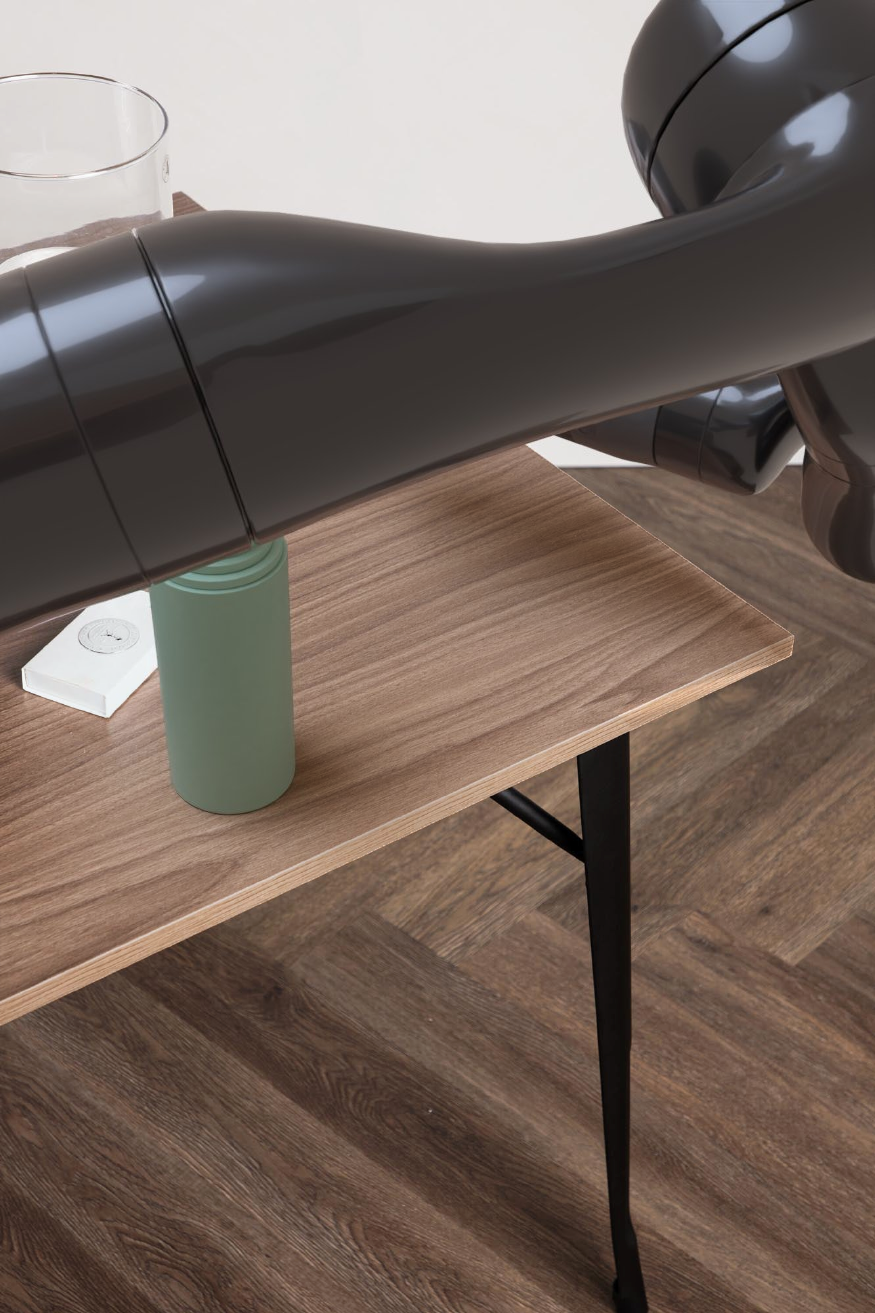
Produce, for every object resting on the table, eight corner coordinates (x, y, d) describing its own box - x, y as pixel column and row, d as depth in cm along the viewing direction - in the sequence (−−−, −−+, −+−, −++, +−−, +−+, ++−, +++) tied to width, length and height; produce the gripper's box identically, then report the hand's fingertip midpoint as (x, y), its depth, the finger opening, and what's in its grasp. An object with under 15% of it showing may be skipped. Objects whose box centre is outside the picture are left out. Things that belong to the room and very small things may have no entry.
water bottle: (202, 832, 70) (170, 513, 57) (150, 752, 74) (110, 439, 61) (317, 785, 72) (310, 472, 60) (261, 711, 76) (244, 403, 64)
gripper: (675, 269, 79) (422, 195, 86) (547, 370, 70) (275, 279, 77) (657, 388, 84) (419, 309, 91) (536, 497, 75) (281, 400, 82)
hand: (355, 295), depth 84 cm, fingers closed on supplement bottle, 4 cm apart
